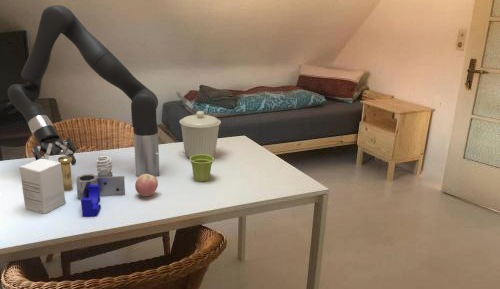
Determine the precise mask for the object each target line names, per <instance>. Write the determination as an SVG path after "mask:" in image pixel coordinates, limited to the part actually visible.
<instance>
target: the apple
mask: <svg viewBox="0 0 500 289" xmlns="http://www.w3.org/2000/svg"><path fill="white" fill-rule="evenodd" d="M158 186H159V181H158V179H157V176H153V175H150V174H142V175H140V176H137V178H136V180H135V183H134V188H135V190H136V192H137V194H139V195H141V196H144V197H150V196H152V195H153V194H154V193H155V192H156V191H157V189H158Z"/></svg>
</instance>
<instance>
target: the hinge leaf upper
mask: <svg viewBox="0 0 500 289" xmlns="http://www.w3.org/2000/svg"><path fill="white" fill-rule="evenodd" d="M85 181H86V182H87V189H88V191H89V186H90V185H99V192H100V197H107V196H108V197H110V196H125V195H126V185H125V176H124V175H115V176H110V177H98V176H97V174H94V173H89V174H88V173H86V174H81V175H79V176H77V177H76V179H75V182H76V191H77V190H80V191H81V190H82V187H83V184H84V182H85Z"/></svg>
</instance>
